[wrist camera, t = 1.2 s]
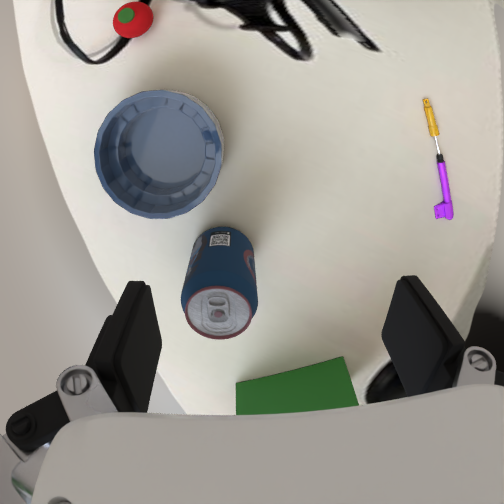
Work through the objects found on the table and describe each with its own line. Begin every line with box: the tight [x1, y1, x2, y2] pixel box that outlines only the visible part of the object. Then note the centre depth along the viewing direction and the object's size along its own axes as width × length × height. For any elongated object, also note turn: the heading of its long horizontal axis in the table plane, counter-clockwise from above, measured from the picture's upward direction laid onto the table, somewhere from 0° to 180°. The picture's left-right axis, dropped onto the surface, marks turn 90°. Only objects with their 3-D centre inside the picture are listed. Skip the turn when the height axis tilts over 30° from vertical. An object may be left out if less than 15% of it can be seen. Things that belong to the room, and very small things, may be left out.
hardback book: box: [236, 356, 359, 415], centre depth 39 cm, size 18×7×24 cm, turn 107°
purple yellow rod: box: [423, 99, 454, 220], centre depth 33 cm, size 3×1×16 cm
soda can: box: [181, 227, 258, 339], centre depth 32 cm, size 7×7×12 cm
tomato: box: [113, 2, 153, 38], centre depth 23 cm, size 4×4×4 cm
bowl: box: [94, 90, 224, 219], centre depth 29 cm, size 12×12×5 cm
